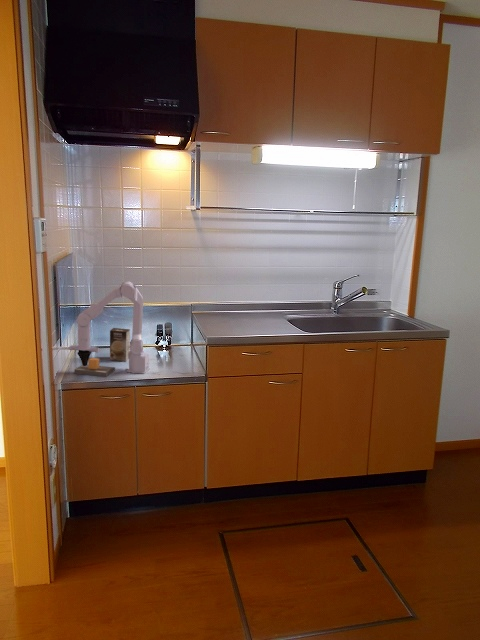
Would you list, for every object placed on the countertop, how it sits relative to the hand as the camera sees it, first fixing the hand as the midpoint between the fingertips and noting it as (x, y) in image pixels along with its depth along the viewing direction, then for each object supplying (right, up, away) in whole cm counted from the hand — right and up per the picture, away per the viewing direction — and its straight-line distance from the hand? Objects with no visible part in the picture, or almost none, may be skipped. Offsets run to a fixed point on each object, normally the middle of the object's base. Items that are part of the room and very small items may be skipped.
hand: (84, 365), depth 243 cm
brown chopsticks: (+6, -2, +6) cm, 9 cm away
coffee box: (+12, +1, +23) cm, 25 cm away
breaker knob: (+5, -1, -1) cm, 5 cm away
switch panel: (+4, -3, 0) cm, 6 cm away
